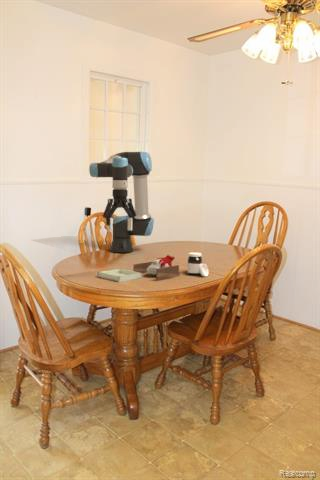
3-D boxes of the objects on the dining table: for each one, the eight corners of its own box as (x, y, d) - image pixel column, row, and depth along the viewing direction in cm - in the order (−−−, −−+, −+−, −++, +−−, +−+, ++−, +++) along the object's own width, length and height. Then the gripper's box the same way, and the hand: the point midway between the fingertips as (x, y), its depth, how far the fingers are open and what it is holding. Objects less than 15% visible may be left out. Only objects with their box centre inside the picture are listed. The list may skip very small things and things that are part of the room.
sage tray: (97, 276, 214) (97, 271, 214) (119, 273, 225) (119, 268, 224) (119, 282, 202) (119, 276, 202) (141, 278, 213) (141, 273, 213)
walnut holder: (133, 275, 219) (133, 264, 218) (155, 271, 231) (155, 261, 230) (157, 280, 207) (157, 268, 206) (179, 276, 219) (179, 265, 218)
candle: (145, 269, 222) (163, 247, 222) (161, 282, 222) (179, 260, 222) (145, 271, 213) (163, 248, 213) (162, 285, 213) (180, 262, 213)
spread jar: (188, 272, 230) (188, 251, 228) (208, 273, 228) (209, 252, 227) (186, 277, 218) (187, 254, 217) (208, 277, 216) (208, 255, 215)
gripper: (105, 188, 197) (105, 233, 200) (143, 189, 215) (142, 230, 218) (95, 188, 202) (95, 232, 205) (133, 189, 220) (133, 229, 223)
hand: (119, 231), depth 211 cm, fingers open, 13 cm apart
